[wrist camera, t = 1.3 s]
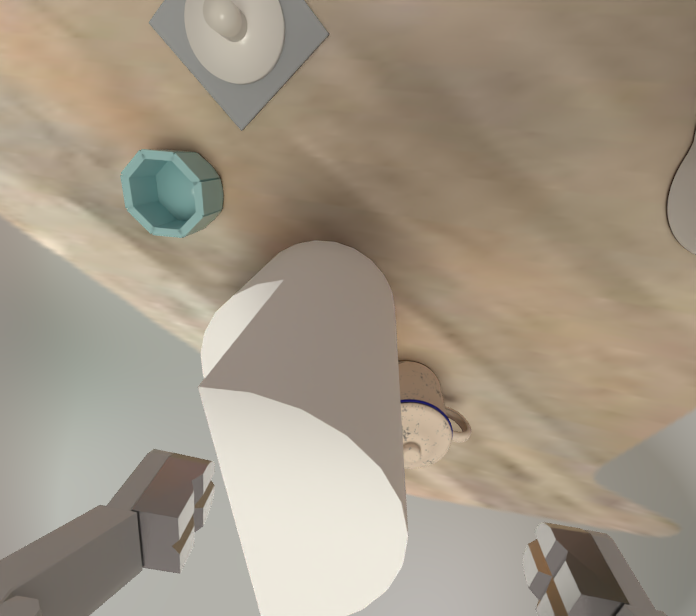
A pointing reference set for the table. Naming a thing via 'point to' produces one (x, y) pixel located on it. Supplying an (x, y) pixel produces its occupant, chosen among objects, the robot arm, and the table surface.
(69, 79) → the table surface
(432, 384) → the teacup with lid
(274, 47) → the lid
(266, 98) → the mat
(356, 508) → the cylinder
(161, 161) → the cup
